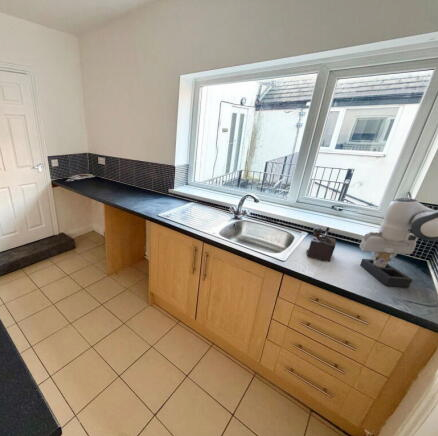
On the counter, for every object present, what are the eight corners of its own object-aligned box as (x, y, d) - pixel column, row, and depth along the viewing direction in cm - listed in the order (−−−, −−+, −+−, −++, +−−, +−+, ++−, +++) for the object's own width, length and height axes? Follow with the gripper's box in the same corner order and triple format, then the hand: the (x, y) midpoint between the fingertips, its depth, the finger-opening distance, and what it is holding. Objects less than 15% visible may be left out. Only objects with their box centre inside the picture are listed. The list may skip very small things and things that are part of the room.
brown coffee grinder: (307, 248, 137) (316, 218, 130) (331, 254, 131) (341, 223, 124) (303, 259, 125) (312, 228, 118) (329, 267, 119) (340, 234, 112)
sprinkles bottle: (371, 272, 115) (382, 247, 110) (369, 267, 119) (379, 243, 114) (384, 275, 113) (395, 250, 108) (381, 270, 117) (392, 245, 112)
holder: (379, 267, 120) (382, 260, 118) (408, 287, 104) (412, 279, 103) (359, 265, 121) (362, 258, 119) (385, 285, 105) (389, 277, 104)
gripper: (371, 234, 107) (361, 261, 112) (423, 237, 105) (410, 265, 110) (361, 229, 113) (352, 255, 118) (410, 231, 111) (398, 258, 116)
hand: (380, 260), depth 114 cm, fingers closed on sprinkles bottle, 4 cm apart
